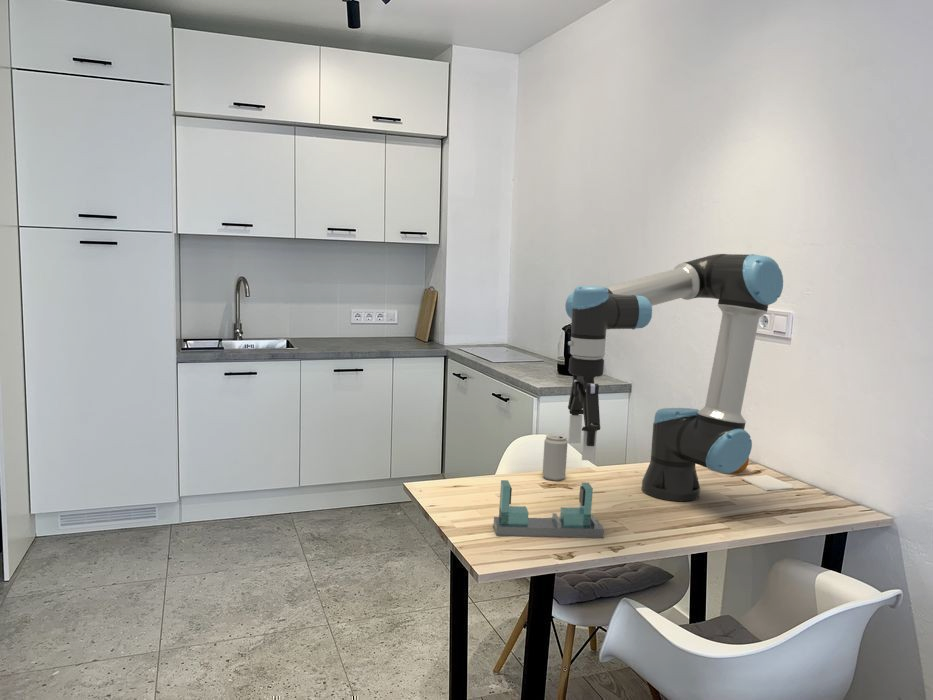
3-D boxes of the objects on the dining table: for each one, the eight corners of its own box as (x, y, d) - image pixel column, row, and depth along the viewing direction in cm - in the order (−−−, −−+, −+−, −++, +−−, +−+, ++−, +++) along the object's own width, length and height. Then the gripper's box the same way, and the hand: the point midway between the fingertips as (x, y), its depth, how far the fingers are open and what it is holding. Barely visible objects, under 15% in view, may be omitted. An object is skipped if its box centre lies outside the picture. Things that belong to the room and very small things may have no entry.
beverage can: (564, 482, 200) (567, 440, 198) (541, 480, 201) (543, 437, 200) (565, 475, 206) (568, 434, 205) (543, 473, 208) (546, 432, 206)
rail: (596, 527, 167) (600, 481, 166) (603, 537, 162) (607, 490, 160) (493, 525, 166) (496, 478, 164) (496, 535, 160) (499, 487, 158)
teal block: (585, 520, 166) (588, 482, 165) (589, 527, 162) (592, 488, 161) (559, 520, 166) (562, 481, 164) (563, 526, 162) (566, 487, 160)
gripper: (558, 348, 171) (553, 436, 174) (582, 365, 146) (576, 467, 149) (590, 349, 171) (584, 436, 174) (619, 366, 147) (612, 468, 150)
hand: (581, 451), depth 162 cm, fingers open, 13 cm apart
